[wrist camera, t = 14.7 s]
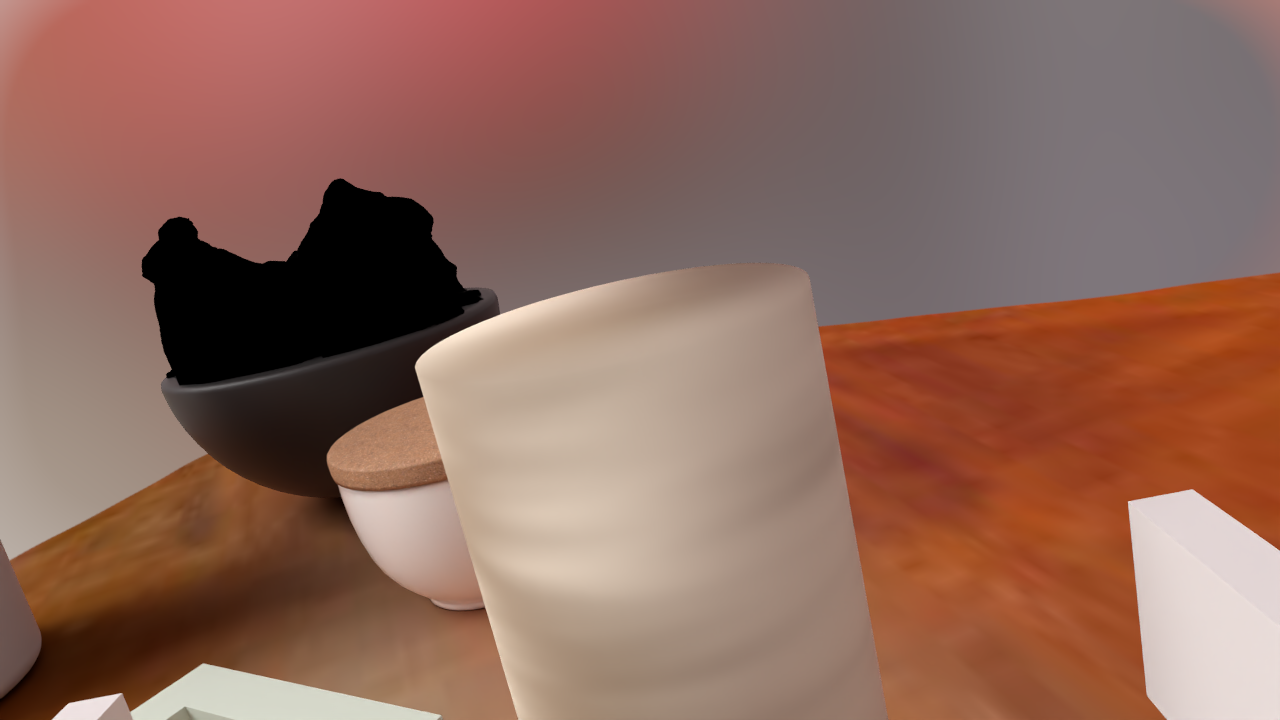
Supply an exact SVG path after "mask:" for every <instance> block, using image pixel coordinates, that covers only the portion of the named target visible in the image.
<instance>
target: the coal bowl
mask: <svg viewBox="0 0 1280 720" xmlns="http://www.w3.org/2000/svg"><path fill="white" fill-rule="evenodd" d="M433 223H434V222H433V217H432V216H431V215H430V214H429V213H428V211H427V210H426V209H425V208H424V207H423V206H421V205H420V204H418V203H417V202H415V201H414V200H412V199H409V198H403V197H386V196H384V194H383V193H381V192H372V191H368V190H364V189H360V188H357V187H355V186H353V185H352V184H350V183H348V182H347V181H345V180H344V179H337V180H334V181H333V182H331V184H330V185H329V187H328V189H327V190H326V191H325V193H324V196H323V204H322V206H321V209H320V213H319V214H318V216H317V217H316V218H315V219H314V221H313V222H311V224H310V228H309V230H308V232H307V234H306V236H305V238H304V239H303V240H302V242H301V244H300V246H299V248H298V250H297V251H294V252H293V253H292V254H291V256H290V257H289V258H288V260H287V261H286V262H285V261H268V262H266V263H263V264H261V263H255V262H252V261H249V260H246V259H244V258H241V257H239V256H237V255H235V254H233V253H230V252H228V251H227V250H224V249H217V248H216V247H212V246H210V244H208V243H206V242H204V241H200V240H199V239H198V231H197V229H196V228H195V227H194V225H193V223H192V221H190V220H189V218H188V219H187V218H182V217H177V218H173V219H169V220H167V222H166V223H165V224H163V226H162V227H161V228H160V229H159V231H158V236H159V241H157V242H156V243H155V244H154V245H153V246H152V247H151V249H150V250H149V252H148V253H147V255H146V256H145V257H144V258H143V259H142V272H143V274H142V276H143V277H144V278H146V279H148V280H149V281H150V282H152V283H154V285H155V295H154V305H155V310H156V315H157V319H158V321H159V326H160V333H161V334H160V335H161V339H162V340H161V341H162V345H163V349H164V353H165V355H166V357H167V359H168V362H169V364H170V366H171V368H172V370H171V371H170V372H168V373H167V374H166V376H167V377H166V378H165V379H164V380H163V381H162V383H161V389H162V393H163V395H164V397H165V399H166V401H167V403H168V405H169V407H170V408H171V410H172V412H173V413H174V415H175V417H176V418H177V420H178V421H179V422H180V424H181V425H182V426H183V428H185V430H186V431H187V432H188V434H189V435H190V436H191V437H192V438H193V439H194V440H195V441H196V442H197V444H199V445H200V446H201V447H202V448H203V449H204V450H205V451H206V452H207V453H208V454H209V455H211V456H212V457H213V458H214V459H216V460H217V461H218V462H220V463H221V464H222V465H224V466H225V467H226V468H228V469H230V470H231V471H233V472H235V473H237V474H238V475H240V476H242V477H244V478H246V479H248V480H250V481H253V482H255V483H257V484H259V485H262V486H265V487H268V488H271V489H274V490H277V491H280V492H285V493H289V494H294V495H300V496H309V497H320V498H325V497H341V494H340V491H339V488H338V484H336V483H335V481H334V480H333V478H332V476H331V473H330V470H329V467H328V464H327V454H328V452H329V450H330V448H331V446H332V445H333V444H334V443H335V442H336V441H337V440H338V439H339V438H341V437H342V436H343V435H344V434H346V433H347V432H349V431H350V430H352V429H353V428H355V427H356V426H358V425H359V424H361V423H363V422H365V421H367V420H369V419H371V418H373V417H375V416H377V415H379V414H381V413H383V412H385V411H388V410H390V409H393V408H395V407H397V406H400V405H403V404H405V403H408V402H410V401H413V400H416V399H419V398H422V397H423V393H422V390H421V386H420V383H419V380H418V376H417V373H416V369H415V365H416V362H417V361H418V359H419V358H420V357H421V355H423V354H424V353H425V352H426V351H427V350H429V349H430V348H431V347H433V346H434V345H436V344H437V343H439V342H441V341H443V340H444V339H446V338H448V337H450V336H452V335H454V334H456V333H458V332H460V331H462V330H464V329H466V328H469V327H471V326H473V325H476V324H478V323H480V322H483V321H485V320H488V319H490V318H493V317H496V316H498V315H500V310H499V303H498V298H497V296H496V294H495V292H494V291H493V290H491V289H486V288H463V287H462V285H461V284H460V283H459V281H458V279H457V277H456V274H457V273H456V272H457V271H456V270H457V267H456V265H454V264H453V263H451V262H449V261H448V260H447V259H446V258H445V256H444V254H443V253H442V251H441V249H440V248H439V247H438V245H436V243H435V242H434V241H433V240H432V235H431V232H432V226H433Z"/></svg>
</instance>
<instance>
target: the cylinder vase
mask: <svg viewBox="0 0 1280 720" xmlns="http://www.w3.org/2000/svg"><path fill="white" fill-rule="evenodd" d="M41 644H42V638H41V633H40V630H39V628H38V625H37V623H36V621H35V618H34V616H33V614H32V612H31V609H30V607H29V605H28V602H27V600H26V598H25V595H24V593H23V591H22V589H21V586H20V584H19V582H18V579H17V577H16V575H15V572H14V570H13V568H12V566H11V563H10V561H9V559H8V556H7V554H6V552H5V549H4V547H3V545H2V543H1V540H0V699H1V698H2V697H4V696H5V695H6V694H7V693H8V692H9V691H10V690H11V689H13V688H14V687H15V686H16V685H17V684H18V683H19V682H20V681H21V680H22V679H23V677H24V676H25V675H26V674H27V673H28V671H29V670H30V669H31V667H32V666H33V664H34V663H35V661H36V659H37V657H38V655H39V652H40V649H41Z"/></svg>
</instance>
